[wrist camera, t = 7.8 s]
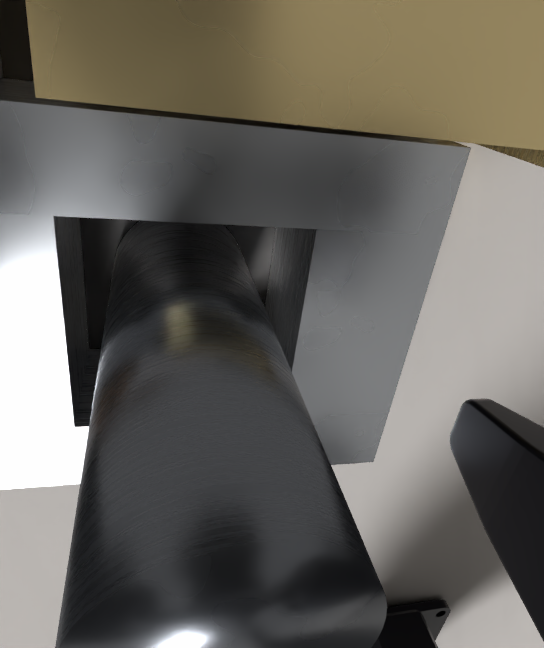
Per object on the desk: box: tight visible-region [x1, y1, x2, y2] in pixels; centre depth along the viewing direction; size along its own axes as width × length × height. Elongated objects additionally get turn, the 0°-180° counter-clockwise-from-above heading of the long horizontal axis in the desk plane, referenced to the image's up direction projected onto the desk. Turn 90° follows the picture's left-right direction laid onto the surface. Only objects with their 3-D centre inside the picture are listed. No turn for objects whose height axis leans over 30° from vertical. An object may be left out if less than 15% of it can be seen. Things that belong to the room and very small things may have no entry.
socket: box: [0, 54, 471, 490], centre depth 10 cm, size 12×10×3 cm
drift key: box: [25, 0, 544, 167], centre depth 8 cm, size 3×9×5 cm, turn 83°
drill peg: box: [55, 220, 387, 648], centre depth 8 cm, size 3×3×9 cm
